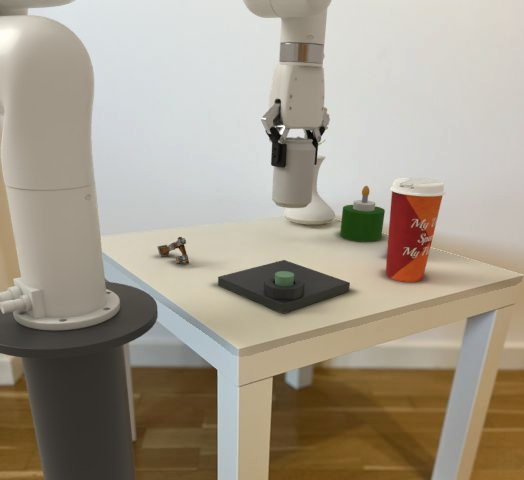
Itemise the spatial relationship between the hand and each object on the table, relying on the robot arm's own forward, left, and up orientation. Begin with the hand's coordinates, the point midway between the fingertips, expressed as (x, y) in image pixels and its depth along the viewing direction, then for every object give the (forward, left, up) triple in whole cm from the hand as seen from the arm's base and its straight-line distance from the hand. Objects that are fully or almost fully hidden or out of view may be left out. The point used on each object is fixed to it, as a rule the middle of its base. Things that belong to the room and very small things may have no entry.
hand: (294, 164), depth 101 cm
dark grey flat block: (-21, -19, -14) cm, 31 cm away
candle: (+13, -7, -14) cm, 21 cm away
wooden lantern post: (-26, +2, -14) cm, 29 cm away
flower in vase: (+13, +8, -14) cm, 21 cm away
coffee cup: (-1, -27, -14) cm, 30 cm away
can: (0, 0, -8) cm, 8 cm away
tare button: (-25, -23, -11) cm, 35 cm away
